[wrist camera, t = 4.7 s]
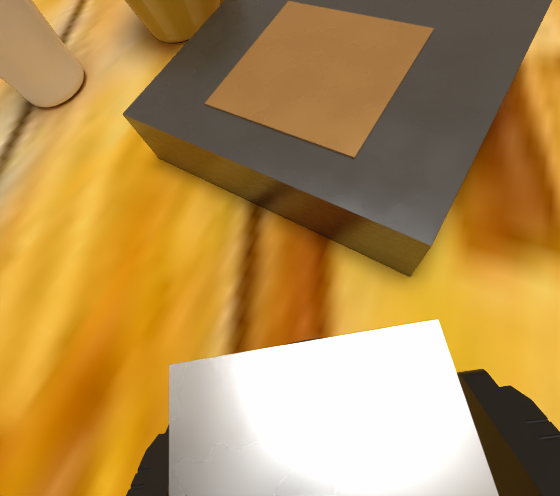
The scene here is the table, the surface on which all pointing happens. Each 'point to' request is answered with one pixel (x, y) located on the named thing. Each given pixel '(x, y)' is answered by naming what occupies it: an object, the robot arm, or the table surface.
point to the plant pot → (173, 17)
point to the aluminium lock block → (327, 420)
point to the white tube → (35, 56)
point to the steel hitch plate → (341, 109)
